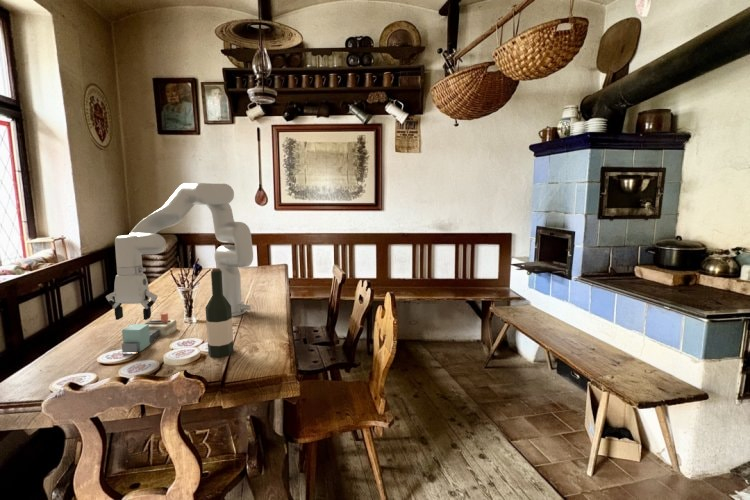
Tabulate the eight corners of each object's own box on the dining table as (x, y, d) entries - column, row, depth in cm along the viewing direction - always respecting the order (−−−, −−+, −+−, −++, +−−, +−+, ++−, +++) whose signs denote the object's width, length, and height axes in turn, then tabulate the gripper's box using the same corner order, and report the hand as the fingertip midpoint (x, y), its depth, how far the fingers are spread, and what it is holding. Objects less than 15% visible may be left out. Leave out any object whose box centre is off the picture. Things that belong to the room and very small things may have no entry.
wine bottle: (218, 359, 136) (213, 272, 131) (203, 354, 140) (197, 269, 136) (238, 351, 143) (234, 268, 138) (223, 346, 147) (218, 265, 143)
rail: (162, 336, 157) (161, 326, 156) (137, 354, 140) (136, 343, 139) (149, 336, 157) (148, 326, 156) (122, 354, 140) (121, 343, 139)
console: (176, 329, 166) (175, 318, 165) (167, 336, 158) (166, 324, 157) (152, 329, 165) (151, 318, 165) (141, 336, 158) (140, 324, 157)
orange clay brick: (168, 321, 162) (167, 313, 161) (166, 322, 160) (165, 314, 160) (163, 321, 162) (162, 313, 161) (161, 322, 160) (160, 314, 160)
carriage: (150, 344, 148) (148, 324, 146) (141, 351, 142) (139, 330, 141) (133, 344, 148) (132, 324, 146) (124, 351, 142) (121, 330, 140)
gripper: (160, 269, 144) (163, 315, 146) (111, 268, 144) (115, 315, 146) (149, 273, 137) (152, 322, 139) (97, 272, 136) (101, 321, 139)
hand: (133, 318), depth 142 cm, fingers open, 9 cm apart
